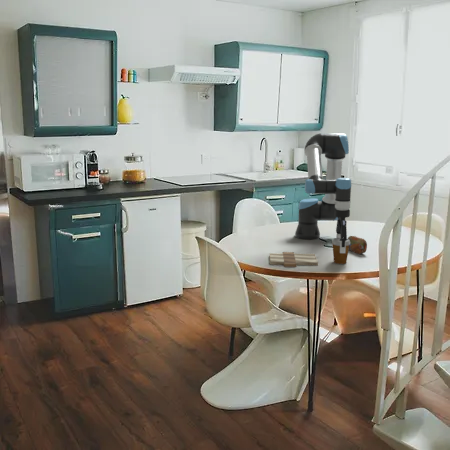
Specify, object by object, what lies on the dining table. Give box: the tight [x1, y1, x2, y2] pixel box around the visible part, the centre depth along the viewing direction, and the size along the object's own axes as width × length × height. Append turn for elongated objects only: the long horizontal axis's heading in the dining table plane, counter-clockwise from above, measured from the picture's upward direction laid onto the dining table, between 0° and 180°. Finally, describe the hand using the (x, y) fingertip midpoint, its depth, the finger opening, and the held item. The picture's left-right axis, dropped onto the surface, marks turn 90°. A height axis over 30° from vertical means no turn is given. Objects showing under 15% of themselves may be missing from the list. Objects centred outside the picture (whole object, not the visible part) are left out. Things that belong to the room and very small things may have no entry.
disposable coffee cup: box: [331, 237, 350, 265], centre depth 278 cm, size 10×10×12 cm
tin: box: [347, 235, 368, 255], centre depth 299 cm, size 15×3×8 cm, turn 24°
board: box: [269, 251, 319, 268], centre depth 283 cm, size 22×24×2 cm
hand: (340, 249), depth 278 cm, fingers open, 13 cm apart
